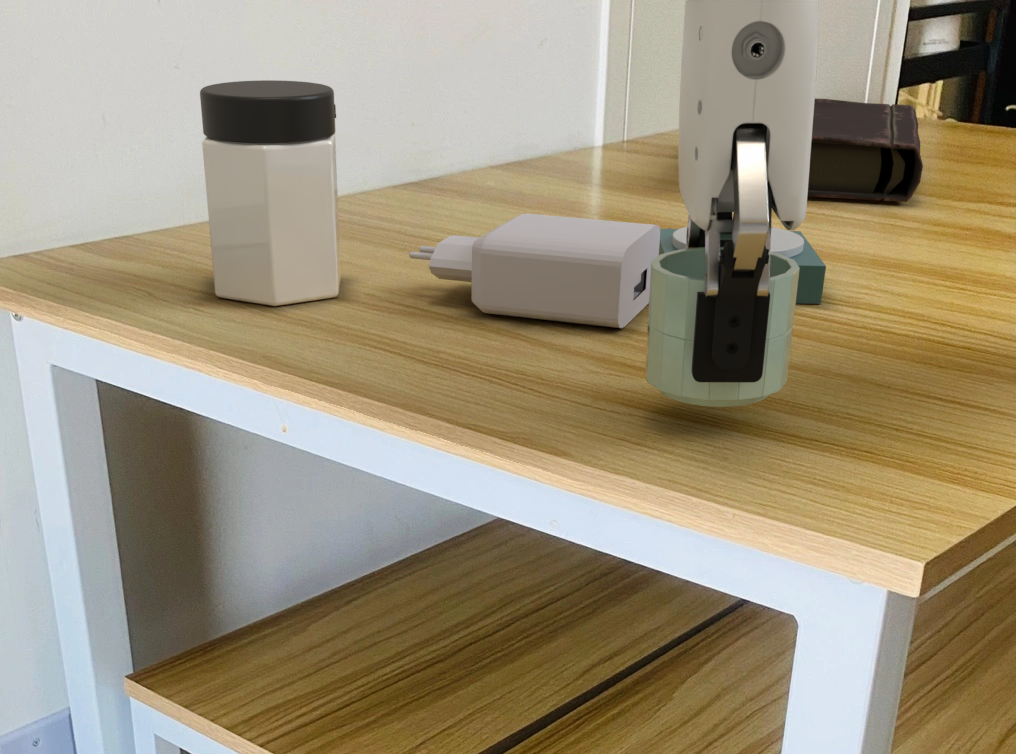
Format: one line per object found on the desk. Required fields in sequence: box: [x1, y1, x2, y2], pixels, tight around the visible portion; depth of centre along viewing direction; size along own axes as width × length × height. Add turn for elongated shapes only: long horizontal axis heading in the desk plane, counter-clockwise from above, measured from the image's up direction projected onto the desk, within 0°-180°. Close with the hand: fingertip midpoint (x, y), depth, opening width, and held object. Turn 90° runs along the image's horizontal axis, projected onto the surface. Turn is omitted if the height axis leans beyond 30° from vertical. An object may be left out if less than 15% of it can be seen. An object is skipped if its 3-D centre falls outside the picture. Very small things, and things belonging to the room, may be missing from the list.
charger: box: [408, 213, 661, 329], centre depth 86 cm, size 5×9×15 cm
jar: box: [199, 79, 342, 307], centre depth 86 cm, size 9×8×12 cm
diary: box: [807, 97, 924, 203], centre depth 125 cm, size 19×25×5 cm
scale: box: [659, 226, 827, 305], centre depth 91 cm, size 10×10×3 cm
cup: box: [644, 247, 800, 408], centre depth 66 cm, size 7×7×6 cm
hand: (717, 352), depth 67 cm, fingers closed on cup, 6 cm apart
